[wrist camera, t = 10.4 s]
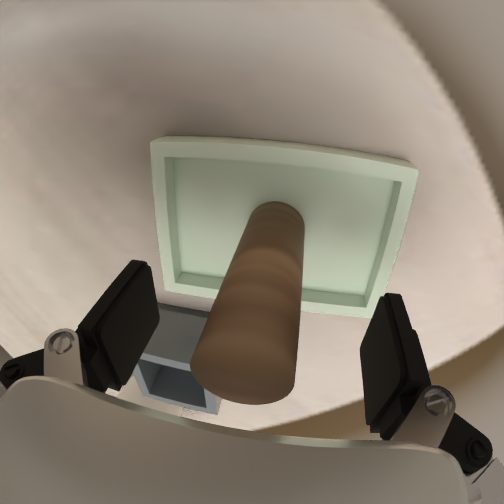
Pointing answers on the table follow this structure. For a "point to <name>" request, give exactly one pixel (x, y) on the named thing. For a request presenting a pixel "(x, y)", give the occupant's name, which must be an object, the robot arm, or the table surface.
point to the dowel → (256, 313)
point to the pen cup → (175, 361)
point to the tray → (290, 192)
